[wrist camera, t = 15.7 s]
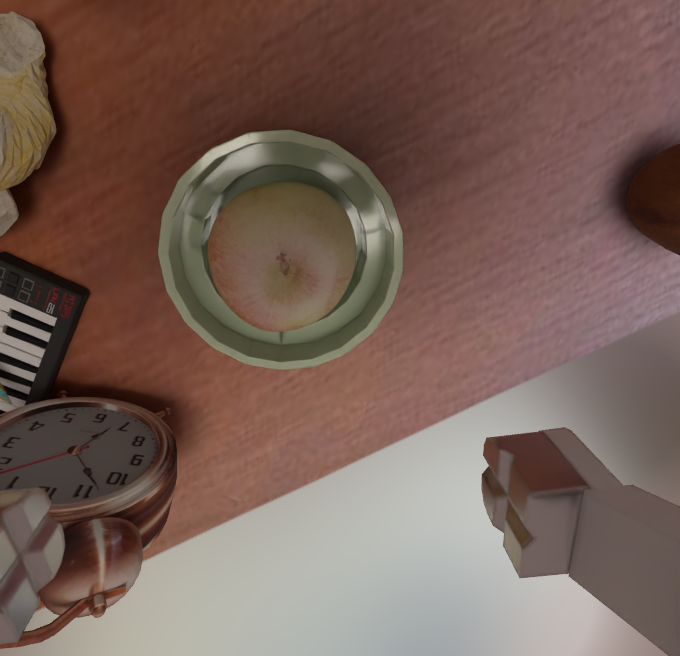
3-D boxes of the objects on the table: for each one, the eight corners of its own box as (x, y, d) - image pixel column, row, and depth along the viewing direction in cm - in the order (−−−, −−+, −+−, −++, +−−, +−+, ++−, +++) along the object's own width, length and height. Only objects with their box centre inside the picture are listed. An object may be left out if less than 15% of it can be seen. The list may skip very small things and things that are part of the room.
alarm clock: (200, 400, 31) (119, 616, 17) (191, 458, 32) (111, 696, 18) (24, 372, 29) (-228, 589, 15) (25, 435, 30) (-201, 681, 17)
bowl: (382, 124, 25) (402, 121, 21) (388, 324, 30) (404, 358, 25) (163, 140, 24) (131, 140, 20) (203, 341, 29) (186, 379, 25)
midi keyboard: (-12, 256, 25) (80, 297, 26) (2, 250, 26) (90, 290, 27) (-82, 484, 30) (-2, 509, 31) (-67, 471, 31) (9, 495, 32)
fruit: (237, 155, 25) (211, 161, 17) (364, 198, 26) (390, 222, 19) (207, 284, 27) (173, 338, 20) (324, 316, 29) (333, 378, 21)
